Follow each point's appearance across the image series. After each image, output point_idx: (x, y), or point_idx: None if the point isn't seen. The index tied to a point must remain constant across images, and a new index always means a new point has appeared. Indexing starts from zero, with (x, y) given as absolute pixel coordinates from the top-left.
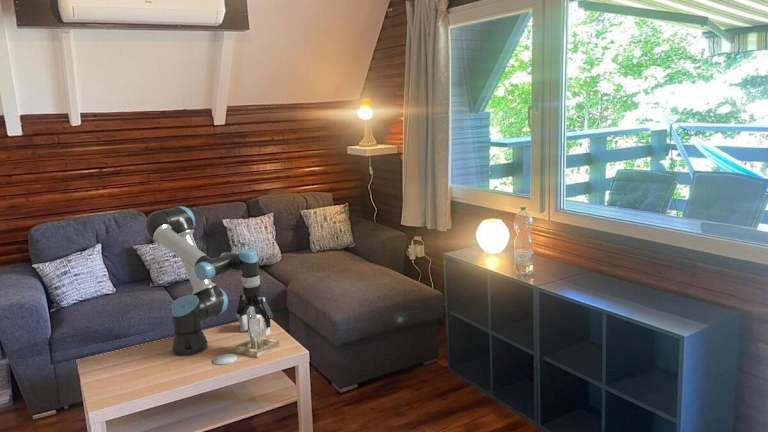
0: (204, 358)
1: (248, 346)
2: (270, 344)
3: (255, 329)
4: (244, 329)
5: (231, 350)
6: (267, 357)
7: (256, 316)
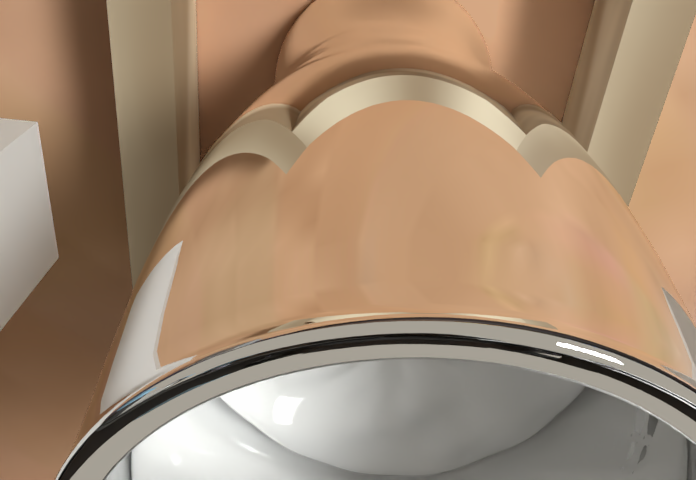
0: (5, 472)
1: (193, 88)
2: (648, 61)
3: (520, 437)
4: (45, 255)
5: (68, 247)
6: (688, 256)
7: (247, 293)
